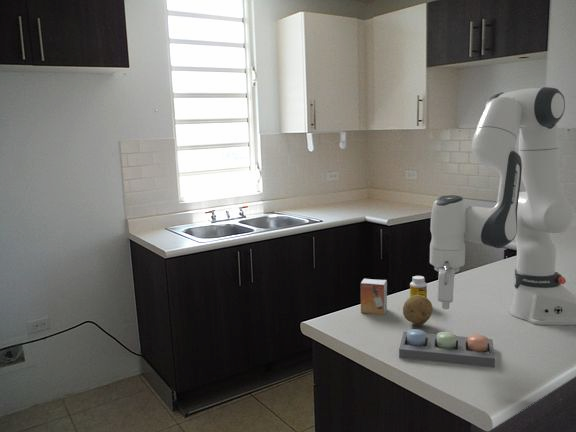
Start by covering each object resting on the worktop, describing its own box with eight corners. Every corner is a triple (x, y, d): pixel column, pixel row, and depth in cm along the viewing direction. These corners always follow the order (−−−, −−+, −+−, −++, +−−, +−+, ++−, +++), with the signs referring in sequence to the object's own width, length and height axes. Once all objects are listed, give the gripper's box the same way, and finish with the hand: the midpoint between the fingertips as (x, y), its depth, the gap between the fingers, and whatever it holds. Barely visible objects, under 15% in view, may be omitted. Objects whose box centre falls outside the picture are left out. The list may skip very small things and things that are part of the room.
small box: (360, 312, 170) (359, 282, 168) (364, 307, 175) (363, 278, 173) (384, 315, 167) (384, 284, 165) (387, 309, 172) (387, 279, 170)
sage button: (456, 342, 139) (456, 332, 139) (455, 350, 135) (456, 340, 134) (437, 341, 141) (437, 331, 140) (436, 348, 136) (436, 338, 136)
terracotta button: (487, 345, 137) (487, 335, 136) (488, 353, 132) (488, 342, 131) (467, 343, 138) (467, 333, 138) (467, 351, 134) (468, 341, 133)
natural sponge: (427, 333, 151) (428, 302, 149) (398, 329, 155) (398, 298, 153) (435, 323, 158) (435, 292, 157) (407, 318, 163) (407, 289, 161)
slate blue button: (426, 340, 142) (426, 330, 141) (424, 347, 137) (424, 337, 137) (407, 338, 143) (407, 328, 143) (406, 345, 139) (406, 335, 138)
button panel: (492, 347, 140) (492, 339, 139) (494, 367, 129) (495, 358, 128) (403, 339, 147) (403, 331, 147) (399, 357, 136) (399, 349, 136)
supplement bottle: (418, 310, 170) (418, 280, 168) (406, 305, 175) (406, 277, 173) (430, 306, 173) (430, 277, 171) (417, 301, 178) (417, 273, 176)
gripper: (459, 268, 123) (457, 322, 125) (459, 249, 142) (458, 296, 144) (432, 267, 125) (431, 320, 127) (436, 248, 144) (435, 294, 146)
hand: (445, 307), depth 136 cm, fingers closed
